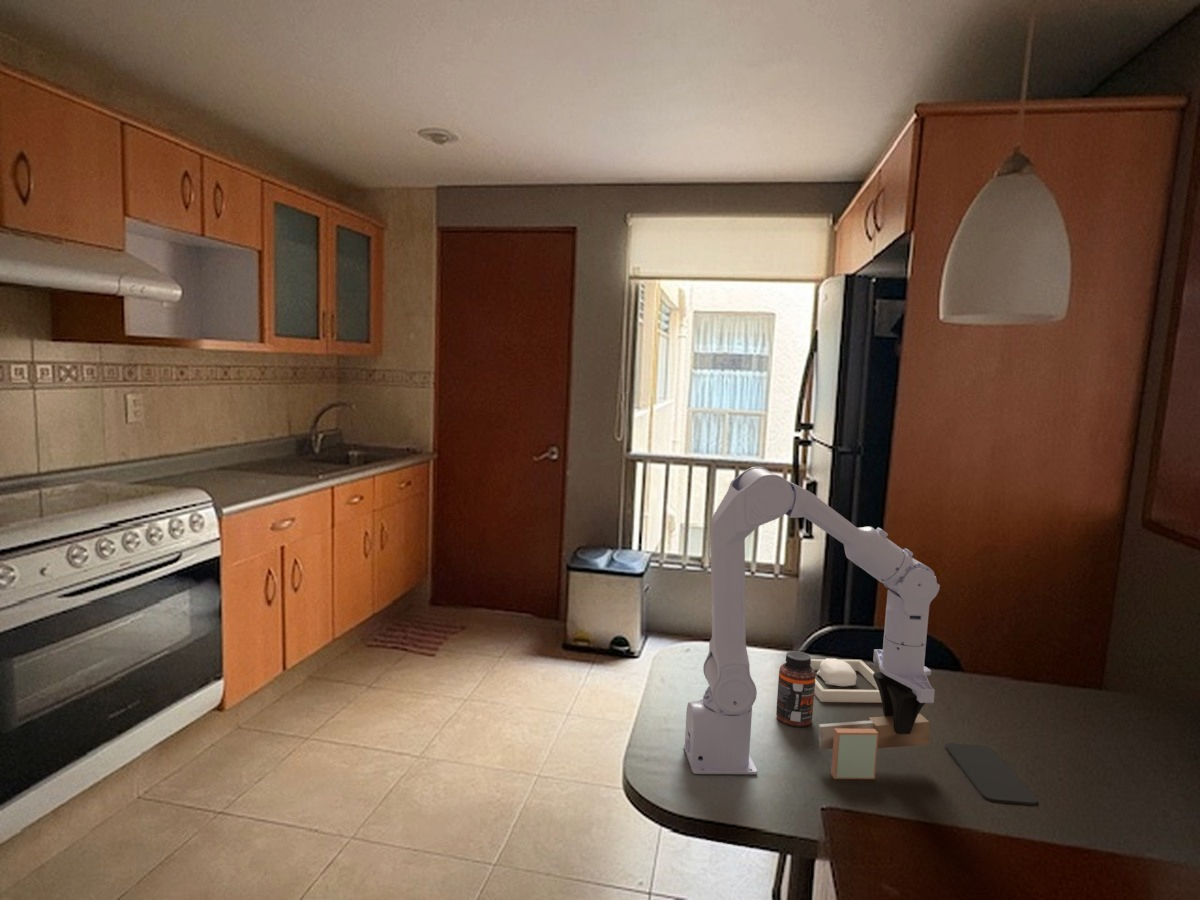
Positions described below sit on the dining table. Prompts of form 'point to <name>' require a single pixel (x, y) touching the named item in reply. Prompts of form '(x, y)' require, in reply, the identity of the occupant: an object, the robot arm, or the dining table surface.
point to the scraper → (879, 732)
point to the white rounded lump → (837, 673)
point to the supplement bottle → (796, 690)
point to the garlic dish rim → (848, 695)
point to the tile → (854, 753)
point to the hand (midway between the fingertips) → (897, 727)
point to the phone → (990, 774)
